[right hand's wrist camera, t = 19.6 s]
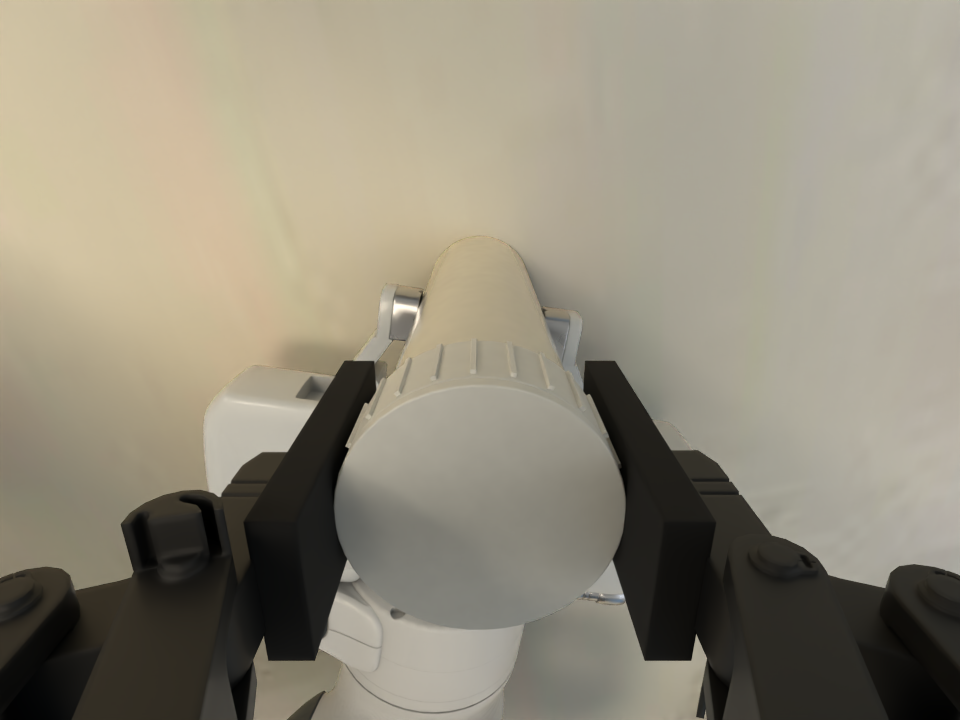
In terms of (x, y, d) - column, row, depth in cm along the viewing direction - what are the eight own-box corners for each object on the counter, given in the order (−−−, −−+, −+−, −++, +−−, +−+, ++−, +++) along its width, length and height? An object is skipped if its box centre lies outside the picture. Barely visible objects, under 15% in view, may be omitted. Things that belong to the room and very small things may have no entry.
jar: (418, 251, 27) (318, 421, 10) (515, 223, 27) (575, 355, 10) (447, 341, 29) (401, 615, 12) (538, 317, 28) (624, 567, 12)
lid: (506, 588, 14) (512, 672, 12) (311, 479, 13) (276, 549, 11) (655, 426, 12) (693, 488, 10) (445, 284, 11) (437, 318, 9)
